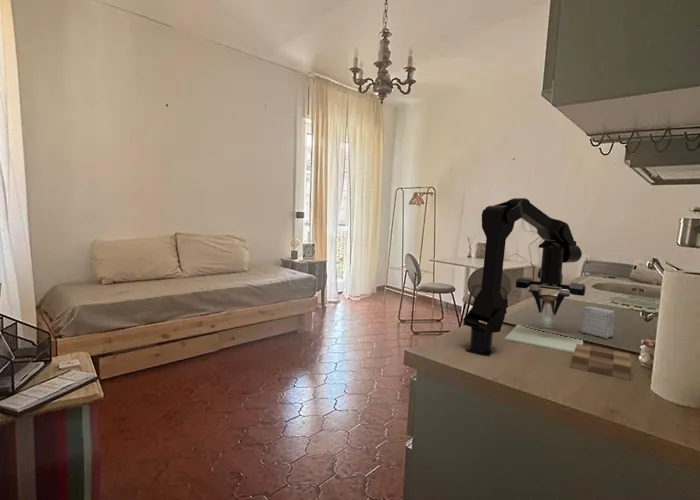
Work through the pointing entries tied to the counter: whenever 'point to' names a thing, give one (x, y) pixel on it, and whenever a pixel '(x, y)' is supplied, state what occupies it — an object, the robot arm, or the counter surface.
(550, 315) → the metal peg
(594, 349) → the walnut block
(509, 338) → the sage mat
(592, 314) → the medicine box
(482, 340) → the robot arm
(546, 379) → the counter surface
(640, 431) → the counter surface
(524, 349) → the counter surface
